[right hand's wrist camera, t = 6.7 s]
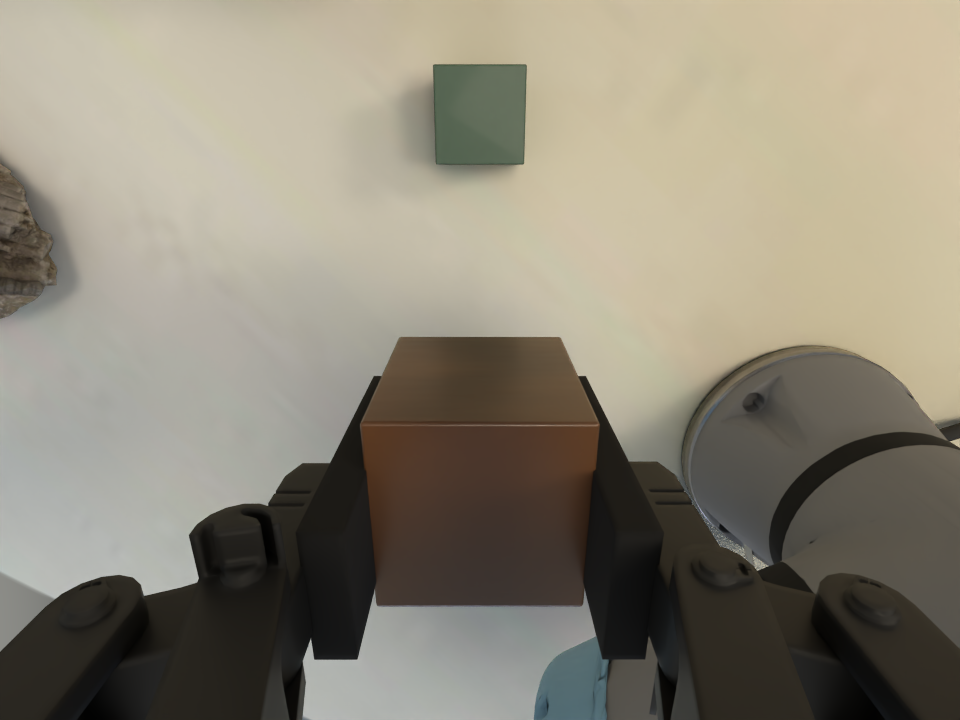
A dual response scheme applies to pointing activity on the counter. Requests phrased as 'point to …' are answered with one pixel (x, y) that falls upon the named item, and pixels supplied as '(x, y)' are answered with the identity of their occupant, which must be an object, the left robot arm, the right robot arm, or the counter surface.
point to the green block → (479, 114)
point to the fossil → (21, 249)
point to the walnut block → (479, 473)
